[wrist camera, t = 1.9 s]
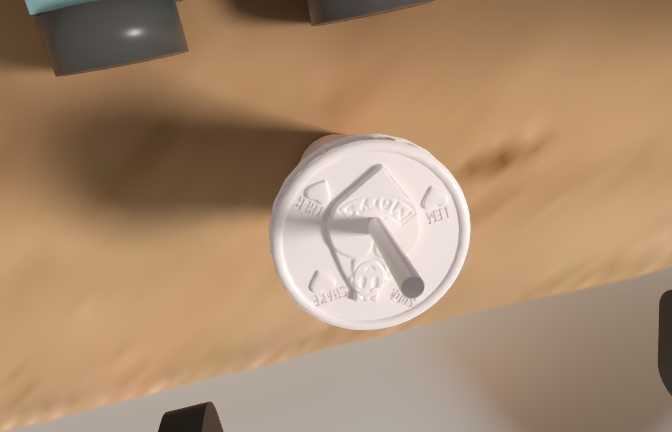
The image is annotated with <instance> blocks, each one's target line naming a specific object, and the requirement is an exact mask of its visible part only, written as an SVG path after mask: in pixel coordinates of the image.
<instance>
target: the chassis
mask: <svg viewBox="0 0 672 432" xmlns="http://www.w3.org/2000/svg"><path fill="white" fill-rule="evenodd" d="M177 1H182V0H25V3H26V5H27V8H28V11H29V14H30V15H34V16H37V17H36V18H35V21H36V24H37V27H38V29H39V32H40V35H41V38H42V40H43V43H44V46H45V49H46V51H47V54H48V57H49V59H50V62H51V65H52V68H53V70H54V73H55V76H67V75H74V74H80V73H86V72H92V71H98V70H103V69H109V68H114V67H119V66H125V65H130V64H135V63H140V62H145V61H150V60H155V59H159V58H164V57H168V56H173V55H177V54H181V53H185V52H188V51H189V50H188V46H187V42H186V39H185V35H184V32H183V28H182V24H181V21H180V17H179V13H178V10H177V6H176V2H177ZM432 1H435V0H307V4H308V9H309V14H310V19H311V24H312V26H319V25H326V24H332V23H337V22H343V21H348V20H353V19H358V18H363V17H368V16H373V15H378V14H383V13H387V12H392V11H396V10H401V9H405V8H409V7H414V6H418V5H422V4H425V3H429V2H432Z"/></svg>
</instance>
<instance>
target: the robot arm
mask: <svg viewBox="0 0 672 432" xmlns="http://www.w3.org/2000/svg"><path fill="white" fill-rule="evenodd" d="M658 341H659V342H658V368H659V373H660V376H661V378H662V381H663V383H664V385H665V387H666V388H667V390H668V391H669V393H670V394H671V395H672V290H669V291H666V292H665V293H664V294H663V295H662V296H661V299H660V304H659V339H658ZM158 432H223V429H222V426H221V423H220V420H219V417H218V414H217V411H216V409H215V407H214V405H213V403H212V402H206V403H202V404H198V405H194V406H190V407H186V408H182V409H178V410H173V411H169V412H166V413H165V414H164V415H163V417H162V420H161V423H160V427H159V430H158Z"/></svg>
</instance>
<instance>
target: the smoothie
mask: <svg viewBox="0 0 672 432" xmlns="http://www.w3.org/2000/svg"><path fill="white" fill-rule="evenodd" d="M269 238H270V249H271V254H272V258H273V263H274V266H275V269H276V272H277V275H278V277H279V279H280V281H281V283H282V285H283V287H284V288H285V290H286V291H287V292H288V294H289V295H290V297H291V298H292V299H293V300H294V301H295V302H296V303H297V304H298V305H299V306H300V307H301V308H303V309H304V310H305V311H307V312H308V313H309V314H311V315H312V316H314V317H316V318H318V319H319V320H322V321H324V322H326V323H329V324H332V325H334V326H338V327H342V328H348V329H356V330H373V329H381V328H386V327H390V326H394V325H397V324H400V323H403V322H405V321H408V320H410V319H412V318H414V317H416V316H418V315H419V314H421V313H423V312H424V311H425V310H427V309H428V308H430V307H431V306H432V305H433V304H435V303H436V302H437V301H438V300H439V299H440V298H441V297H442V296H443V295H444V294H445V293H446V291H447V290H448V289H449V288H450V287H451V285H452V284H453V282H454V281H455V279H456V278H457V276H458V274H459V272H460V270H461V268H462V266H463V264H464V261H465V258H466V255H467V251H468V247H469V241H470V216H469V210H468V206H467V203H466V199H465V197H464V194H463V192H462V190H461V188H460V186H459V184H458V183H457V181H456V180H455V178H454V177H453V175H452V174H451V173H450V172H449V171H448V169H447V168H446V167H445V166H444V165H442V164H441V163H440V162H439V161H438V160H437V159H436V158H435V157H434V156H433V155H431V154H430V153H429V152H428V151H427V150H425V149H423V148H421V147H419V146H418V145H416V144H414V143H412V142H410V141H408V140H406V139H403V138H398V137H394V136H389V135H384V134H362V135H351V136H347V135H342V134H331V135H327V136H323V137H321V138H319V139H317V140H316V141H314V142H313V143H312V144H310V145H309V146H308V148H307V149H306V150H305V152H304V153H303V155H302V157H301V160H300V162H299V164H298V165H297V166H296V168H295V169H294V170H293V171H292V172H291V173H290V174H289V175H288V177H287V178H286V179H285V180H284V182H283V184H282V187H281V189H280V191H279V193H278V195H277V197H276V199H275V201H274V203H273V207H272V213H271V218H270V223H269Z"/></svg>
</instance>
